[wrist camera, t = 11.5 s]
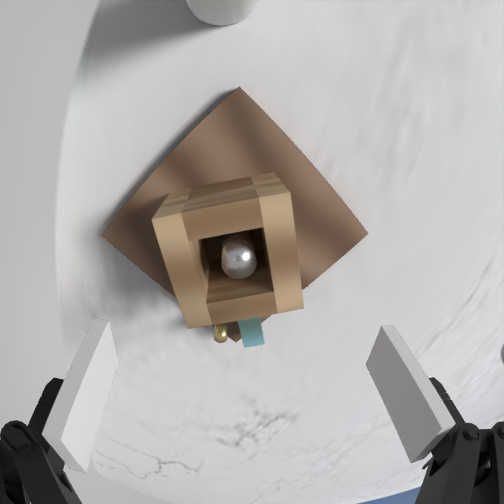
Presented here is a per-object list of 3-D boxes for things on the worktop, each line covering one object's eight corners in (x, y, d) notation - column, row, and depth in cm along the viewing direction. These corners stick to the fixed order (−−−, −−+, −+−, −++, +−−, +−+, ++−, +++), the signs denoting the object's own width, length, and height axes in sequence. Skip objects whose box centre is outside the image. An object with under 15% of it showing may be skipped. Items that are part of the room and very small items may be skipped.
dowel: (220, 309, 31) (220, 331, 28) (228, 315, 31) (229, 337, 28) (212, 316, 31) (211, 338, 28) (220, 322, 32) (220, 344, 28)
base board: (238, 88, 24) (239, 86, 22) (362, 228, 30) (368, 233, 29) (106, 229, 28) (101, 234, 26) (235, 333, 34) (235, 342, 33)
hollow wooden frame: (169, 192, 25) (151, 219, 19) (274, 172, 25) (290, 192, 19) (210, 334, 32) (208, 382, 26) (293, 319, 32) (308, 365, 26)
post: (236, 213, 27) (239, 240, 21) (256, 232, 28) (263, 263, 22) (216, 232, 27) (214, 263, 22) (236, 251, 28) (238, 285, 23)
